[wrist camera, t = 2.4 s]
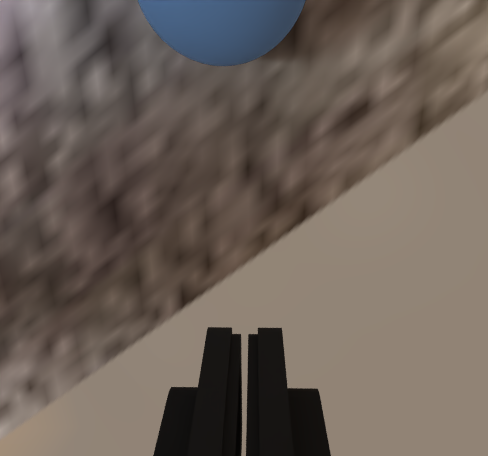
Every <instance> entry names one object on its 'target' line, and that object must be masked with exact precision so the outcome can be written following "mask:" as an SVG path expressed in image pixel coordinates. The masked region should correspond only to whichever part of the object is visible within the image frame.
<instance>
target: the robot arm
mask: <svg viewBox="0 0 488 456" xmlns="http://www.w3.org/2000/svg"><path fill="white" fill-rule="evenodd" d="M248 337H249V338H248V386H247V389H248V390H247V436H246V456H331V455H330V450H329V444H328V438H327V433H326V427H325V422H324V417H323V411H322V405H321V400H320V395H319V391H318V389H297V388H296V389H293V388H287V378H286V368H285V357H284V347H283V336H282V328H258V334H249V335H248ZM241 449H242V377H241V334H232V328H216V327H215V328H214V327H208V329H207V335H206V341H205V347H204V353H203V359H202V366H201V372H200V378H199V384H198V387H171V389H170V391H169V394H168V398H167V402H166V406H165V410H164V414H163V419H162V422H161V426H160V431H159V435H158V439H157V443H156V447H155V451H154V455H153V456H241Z"/></svg>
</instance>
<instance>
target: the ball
mask: <svg viewBox="0 0 488 456" xmlns="http://www.w3.org/2000/svg"><path fill="white" fill-rule="evenodd" d="M305 1H306V0H138V2H139V5H140V7H141V9H142V11H143V13H144V15H145V17H146V19H147V21H148V22H149V24H150V25H151V27H152V28H153V29H154V31H155V32H156V33H157V34H158V35H159V36H160V38H161V39H162V40H163V41H164V42H166V43H167V44H168V45H169V46H170V47H171V48H173V49H174V50H176V51H177V52H178V53H180V54H182V55H184V56H185V57H187V58H189V59H192V60H194V61H197V62H200V63H203V64H208V65H214V66H232V65H238V64H243V63H246V62H249V61H252V60H255V59H257V58H259V57H260V56H262V55H264V54H266V53H267V52H269V51H270V50H271V49H273V48H274V47H275V46H276V45H277V44H279V43H280V42H281V41H282V40H283V39H284V37H285V36H286V35H287V34H288V33H289V31H290V30H291V29H292V27H293V26H294V24H295V22H296V21H297V19H298V17H299V15H300V13H301V11H302V9H303V6H304V3H305Z"/></svg>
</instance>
